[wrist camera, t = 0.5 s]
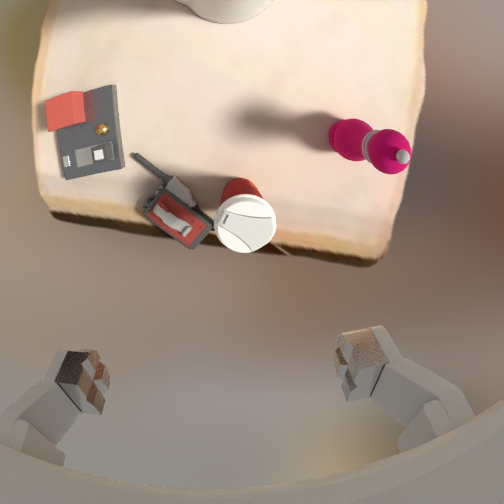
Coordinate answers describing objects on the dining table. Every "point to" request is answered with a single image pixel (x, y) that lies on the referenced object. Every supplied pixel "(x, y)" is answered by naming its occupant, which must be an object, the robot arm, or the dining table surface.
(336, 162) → the dining table surface
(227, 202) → the coffee cup
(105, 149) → the block
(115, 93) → the panel
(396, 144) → the pepper mill
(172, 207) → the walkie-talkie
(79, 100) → the cap
